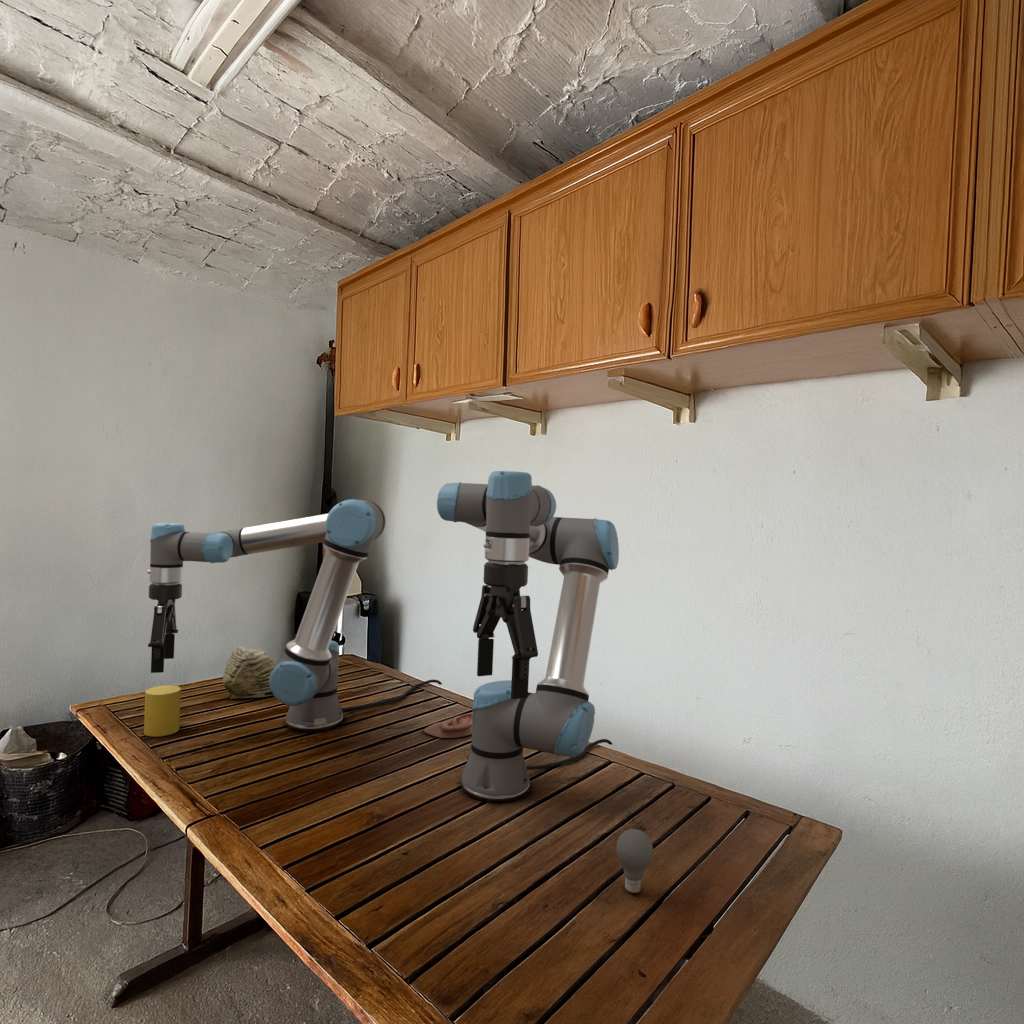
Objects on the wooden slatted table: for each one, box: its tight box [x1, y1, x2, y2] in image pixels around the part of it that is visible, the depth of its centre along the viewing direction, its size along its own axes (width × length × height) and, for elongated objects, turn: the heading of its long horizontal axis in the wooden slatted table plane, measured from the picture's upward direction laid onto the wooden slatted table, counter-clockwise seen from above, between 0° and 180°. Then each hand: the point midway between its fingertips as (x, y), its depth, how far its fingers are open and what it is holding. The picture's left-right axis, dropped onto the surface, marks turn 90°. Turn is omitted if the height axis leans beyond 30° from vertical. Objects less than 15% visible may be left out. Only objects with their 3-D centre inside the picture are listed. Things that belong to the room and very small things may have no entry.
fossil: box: [222, 646, 277, 699], centre depth 198 cm, size 9×18×15 cm, turn 132°
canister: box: [143, 684, 182, 737], centre depth 166 cm, size 8×8×11 cm
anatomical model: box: [423, 712, 472, 739], centre depth 174 cm, size 13×4×12 cm
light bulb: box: [615, 828, 654, 894], centre depth 106 cm, size 6×6×10 cm
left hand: (162, 665), depth 163 cm, fingers open, 13 cm apart
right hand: (500, 686), depth 108 cm, fingers open, 13 cm apart
